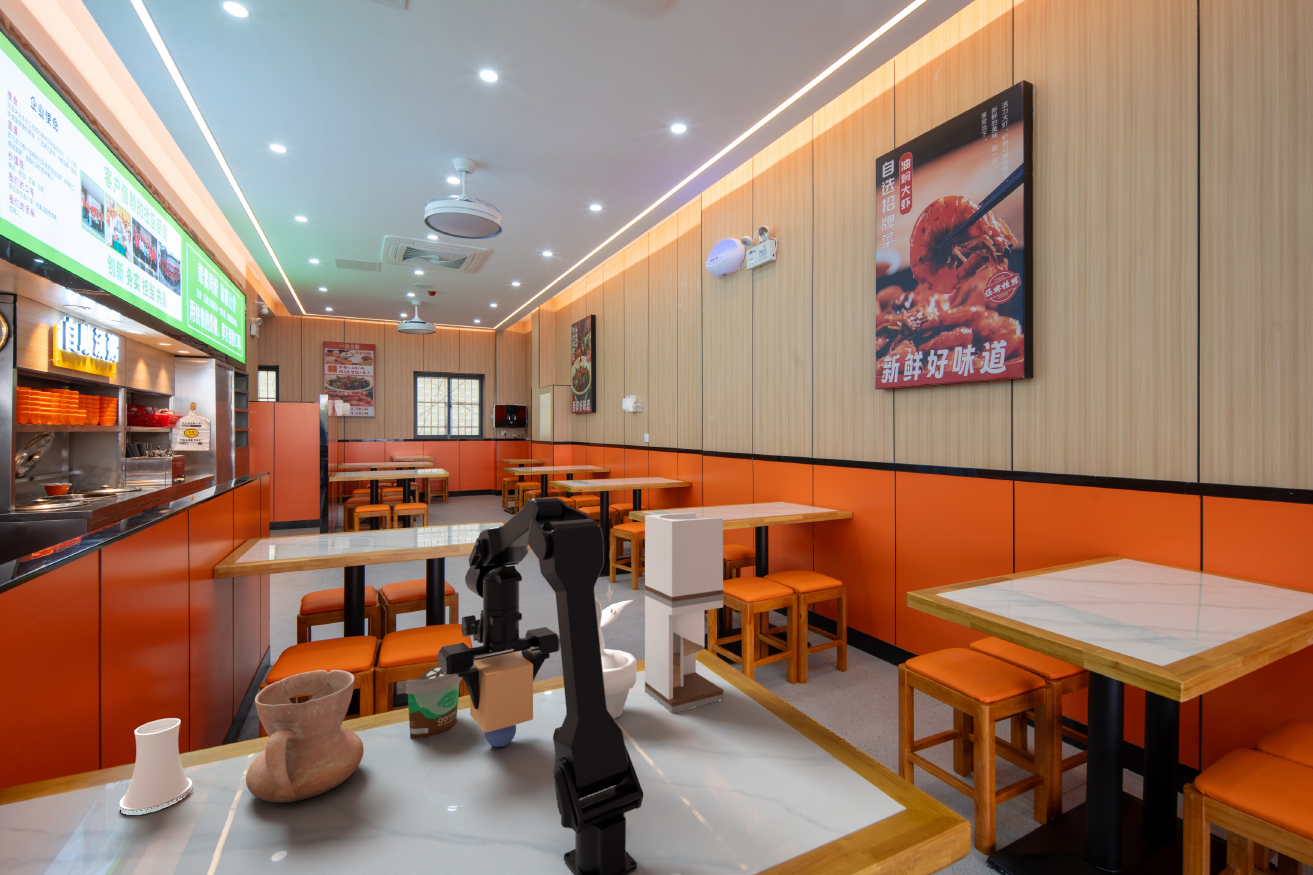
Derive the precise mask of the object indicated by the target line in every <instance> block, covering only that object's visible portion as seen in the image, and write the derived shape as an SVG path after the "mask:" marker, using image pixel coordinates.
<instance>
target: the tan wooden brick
mask: <svg viewBox="0 0 1313 875" xmlns="http://www.w3.org/2000/svg"><path fill="white" fill-rule="evenodd" d="M475 668H476V669H477V670H478V671H479V707H478V709H475V708H474V706H473V703H472V700H471V697H469V699H470V700H469V701H470V702H469V703H470V704H469V705H470V706H469V707H470V710H469V713H470V714H469V715H470V716H471V718H472V719H473V720H474V721H475V722H476V723H477V725H478V726H479V727H480V728H481V729H482V730H483V733H484V734H485V733H487V732H491V731H494V730H498V729H501V728H505V727H508V726H512V725H516V726H517V725H518V724H522V723H525V722H529V721H533V720H534V681H533V664H532V663H531V662H529V661H528V660H527V659H525V658H524V657H523V656H522V654H521V653H519V652H518V651H517V652H512V653H507V654H503V655H498V656H493V657H488V658H483V659H479V660H475Z"/></svg>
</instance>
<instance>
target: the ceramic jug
mask: <svg viewBox="0 0 1313 875" xmlns="http://www.w3.org/2000/svg"><path fill="white" fill-rule="evenodd" d="M355 680H356V679H355V675H353V674H352V673H351V672H349V671H345V670H341V669H332V670H331V671H329V672H328V671H326V670H325V669H319V670H312V671H305V672H301V673H298V674H293V675H290V676H287V677H285V678H283V679H280V680H278V681H275V682H273V683H271V684H269V685H267V686H265V687H264V688H262V689H261V690H260V691H259V692H258V693H257V694H256V696H255V699H254V703H255V708H256V712H257V715H258V719H259V721H260V723H261V725H262V727H263V729H264V731H265V733H266V734H267V736H268V740H267V742H266V747H265V749H264V750H262V752H260V753H259V754H258V755H257V756H256V757H255V758H254V760H253V761H252V762H251V763H250V765H249V767H248V770H247V773H246V776H245V783H246V787H247V789H248V791H249V793H250V794H251V795H252V796H253V797H255V798H257V799H260V800H262V801H266V802H270V803H290V802H298V801H302V800H307V799H309V798H313V797H316V796H319V795H322V794H323V793H326V792H328V791H330V790H332V789H334V788H336V787H338V786H339V785H340V784H342V783H344V782H345V781H346V780H347V779H348V778H349V777H351V775H352V774H354V773H355V771H356V770H357V769H358V767H359V765H360V763H361V762H362V759H363V755H364V752H365V750H364V745H363V744H364V743H363V741H362V739H361V738H360V736H359V735H358V734H357V733H356V732H354V731H352V730H350V729H347V728H344V727H341V726H342V725H343V724H342V723H343V721H344V720H345V717H346V715H347V712H348V709H349V707H350V703H351V701H352V698H353V697H352V696H353V694H354V693H353V692H354V687H355ZM304 694H306V695H307V694H309V695H310V694H314V695H313V696H312V697H311V699H310V700H306V701H305V702H301V703H292V701H291V700H290V699H291V698H292V697H295V696H297V695H304Z"/></svg>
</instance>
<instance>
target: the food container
mask: <svg viewBox="0 0 1313 875" xmlns="http://www.w3.org/2000/svg"><path fill="white" fill-rule="evenodd" d="M462 680H464V679H463V677H458V675H457V674H446V673H445V672H444V671H443V669H442V668H441V667H440V666H439V665H437V666H435V667H432V668H430V669H428V670H426V671H425V672H424V673H423V674H422V675H421V676H420V677H418V678H417V679H407V680H406V685H405V692H404V694H407V702H408V704H407V705H408V722H409V737H410V739H427V738H431V737H432V738H433V737H436V736H439V735H442V734H444V733H445V734H446V733H447V732H448V731H450V730H451V729H453V728H454V727H455V726H456V724H457V720H458V719H457V717H458V706H459V697H460V696H459V694H460V684H461V683H460V682H461V681H462ZM420 706H421V707H420Z"/></svg>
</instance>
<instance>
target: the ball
mask: <svg viewBox="0 0 1313 875" xmlns="http://www.w3.org/2000/svg"><path fill="white" fill-rule="evenodd" d="M516 733H517V724H516V725H512V726H508V727H505V728H501V729H498V730H494V731H491V732H487V733H485V732H484V737H485V740H486V741H487V743H488V744H489V745H491V746H493V747H495V748H502V747H505V746H507V745H509V744H510V743H511V742H512V740H513V739H514V738H515V735H516Z"/></svg>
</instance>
